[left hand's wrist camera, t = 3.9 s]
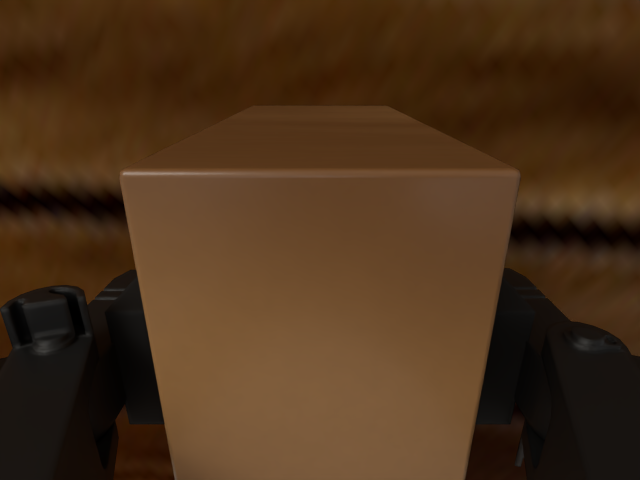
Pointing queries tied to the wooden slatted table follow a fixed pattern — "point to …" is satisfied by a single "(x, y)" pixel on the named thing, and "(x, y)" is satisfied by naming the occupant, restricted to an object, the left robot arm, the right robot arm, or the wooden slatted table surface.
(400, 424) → the bar
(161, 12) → the wooden slatted table surface
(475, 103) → the wooden slatted table surface
